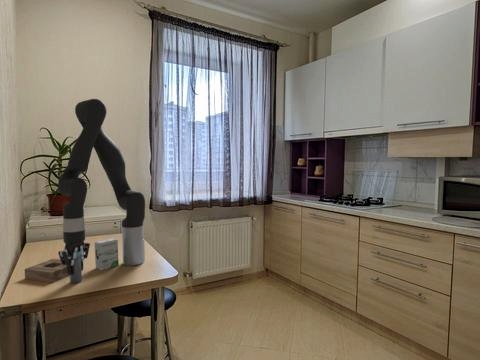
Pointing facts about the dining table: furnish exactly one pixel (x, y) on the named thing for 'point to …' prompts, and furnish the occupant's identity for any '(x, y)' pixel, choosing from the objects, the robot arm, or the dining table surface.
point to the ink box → (106, 254)
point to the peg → (76, 269)
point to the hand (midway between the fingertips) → (75, 272)
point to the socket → (47, 271)
